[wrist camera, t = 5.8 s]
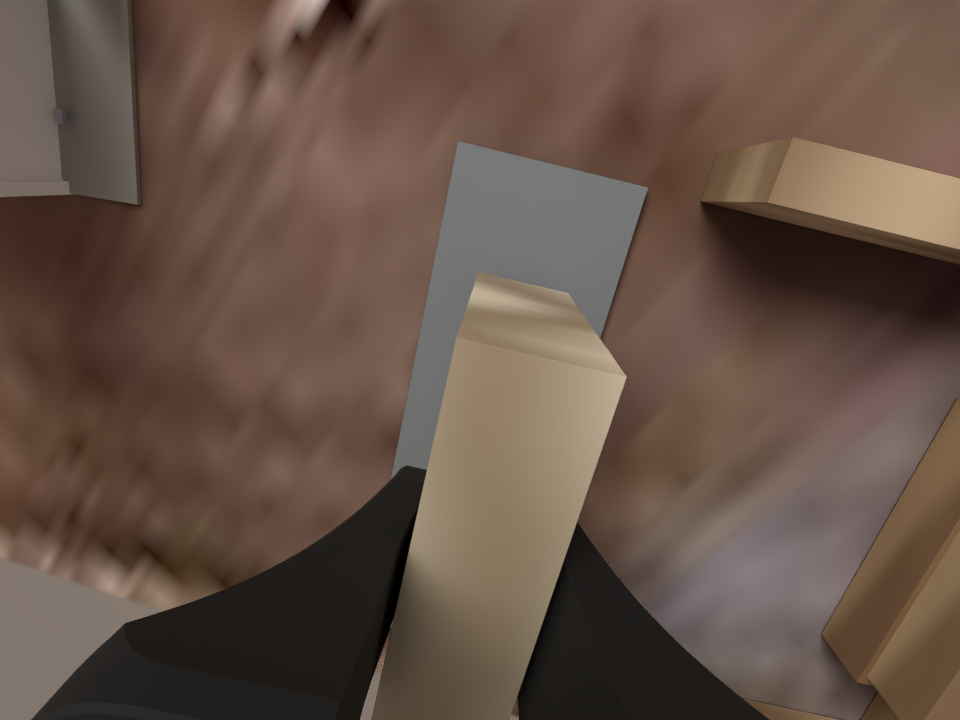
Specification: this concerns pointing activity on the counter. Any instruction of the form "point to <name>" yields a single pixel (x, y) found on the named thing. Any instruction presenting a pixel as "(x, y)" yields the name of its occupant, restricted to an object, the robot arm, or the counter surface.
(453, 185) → the mat
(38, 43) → the skyscraper
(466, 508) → the wooden block
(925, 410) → the counter surface
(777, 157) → the rack
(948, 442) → the offcuts
